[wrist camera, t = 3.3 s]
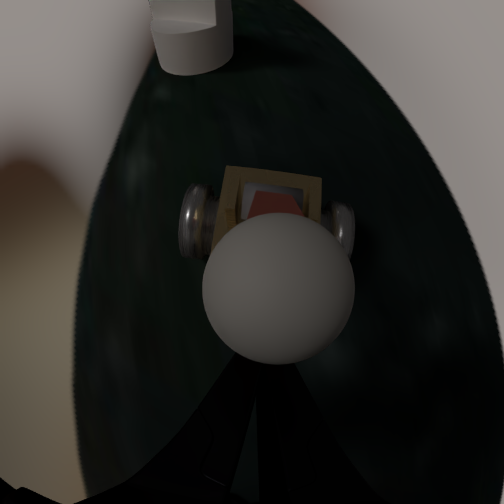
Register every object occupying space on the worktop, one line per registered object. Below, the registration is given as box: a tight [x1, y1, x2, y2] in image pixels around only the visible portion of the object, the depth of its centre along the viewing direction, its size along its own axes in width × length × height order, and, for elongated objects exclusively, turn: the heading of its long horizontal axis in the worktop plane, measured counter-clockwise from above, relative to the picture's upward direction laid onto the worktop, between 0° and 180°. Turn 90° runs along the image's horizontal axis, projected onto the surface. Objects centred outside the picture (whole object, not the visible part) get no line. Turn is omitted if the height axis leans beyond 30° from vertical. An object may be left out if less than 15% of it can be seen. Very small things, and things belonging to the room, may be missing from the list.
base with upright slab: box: [149, 0, 233, 75], centre depth 21 cm, size 9×9×12 cm
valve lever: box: [202, 182, 355, 365], centre depth 10 cm, size 3×3×12 cm
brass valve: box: [179, 166, 355, 261], centre depth 17 cm, size 6×10×8 cm, turn 83°
